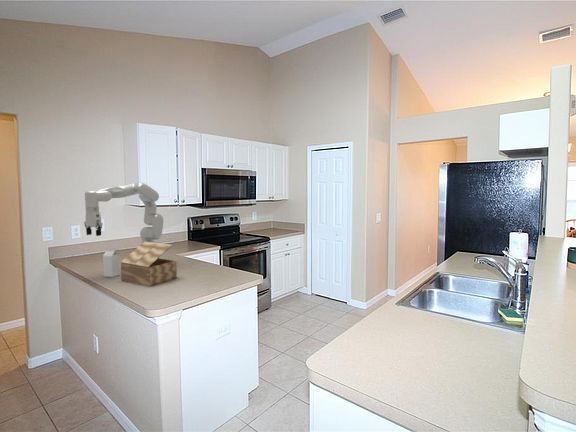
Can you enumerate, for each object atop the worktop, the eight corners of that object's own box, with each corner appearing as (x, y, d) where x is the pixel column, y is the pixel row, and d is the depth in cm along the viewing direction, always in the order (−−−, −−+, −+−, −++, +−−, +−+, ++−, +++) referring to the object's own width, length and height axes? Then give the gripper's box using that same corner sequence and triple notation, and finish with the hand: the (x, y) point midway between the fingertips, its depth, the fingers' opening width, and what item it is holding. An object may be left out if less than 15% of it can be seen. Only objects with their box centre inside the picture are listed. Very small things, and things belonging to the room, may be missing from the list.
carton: (149, 272, 233) (149, 256, 232) (176, 277, 220) (176, 260, 218) (121, 280, 214) (120, 262, 213) (149, 286, 200) (148, 267, 199)
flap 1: (145, 242, 228) (144, 241, 228) (158, 243, 222) (157, 243, 222) (121, 262, 212) (120, 261, 212) (134, 264, 206) (133, 264, 206)
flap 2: (158, 243, 222) (158, 243, 221) (172, 245, 215) (171, 244, 215) (134, 264, 206) (134, 264, 206) (148, 267, 199) (148, 266, 199)
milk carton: (112, 277, 221) (111, 250, 219) (103, 276, 222) (102, 250, 221) (119, 274, 228) (118, 248, 226) (111, 274, 229) (110, 248, 228)
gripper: (106, 209, 210) (107, 235, 212) (89, 209, 217) (91, 233, 219) (95, 210, 203) (97, 236, 205) (78, 209, 210) (80, 235, 212)
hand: (93, 235), depth 212 cm, fingers open, 9 cm apart
